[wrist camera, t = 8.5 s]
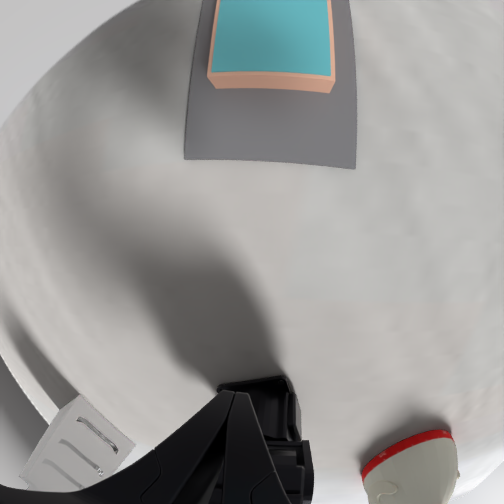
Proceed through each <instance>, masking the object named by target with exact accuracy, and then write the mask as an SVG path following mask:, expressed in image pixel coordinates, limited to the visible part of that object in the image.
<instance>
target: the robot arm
mask: <svg viewBox="0 0 504 504" xmlns="http://www.w3.org/2000/svg"><path fill="white" fill-rule="evenodd" d="M280 380H282V382H280ZM221 389H223V390H221ZM217 392H218V394H217V395H216V396H215V397H214V398H213V399H212V400H211V401H210V402H209V403H207V404H206V405H205V406H204V407H203V408H202V409H201V410H200V411H198V412H197V413H196V414H195V415H194V416H193V417H192V418H190V419H189V420H188V421H187V422H186V423H185V424H183V425H182V426H181V427H180V428H179V429H177V430H176V431H175V432H174V433H173V434H171V435H170V436H169V437H168V438H166V439H165V440H164V441H163V442H161V443H160V444H159V445H158V446H156V447H155V448H154V449H155V450H154V449H152V450H151V451H150V452H149V453H147V454H146V455H145V456H143V457H142V458H140V459H139V460H138V461H136V462H135V463H133V464H132V465H130V466H128V467H127V468H125V469H123V470H121V471H120V472H118V473H116V474H114V475H112V476H110V477H108V478H106V479H104V480H102V481H100V482H98V483H96V484H94V485H91V486H89V487H87V488H85V489H82V490H78V491H73V492H45V491H32V490H23V489H15V488H10V487H6V486H3V485H1V484H0V504H311V501H312V496H313V489H314V470H313V463H312V457H311V451H310V445H309V440H302V439H301V410H300V406H299V403H298V400H297V397H296V394H294V393H291V391H290V388H289V385H288V381H287V379H286V377H285V376H275V377H269V378H264V379H257V380H251V381H244V382H237V383H229V384H221V385H219V386H218V388H217ZM301 440H302V441H301Z"/></svg>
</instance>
